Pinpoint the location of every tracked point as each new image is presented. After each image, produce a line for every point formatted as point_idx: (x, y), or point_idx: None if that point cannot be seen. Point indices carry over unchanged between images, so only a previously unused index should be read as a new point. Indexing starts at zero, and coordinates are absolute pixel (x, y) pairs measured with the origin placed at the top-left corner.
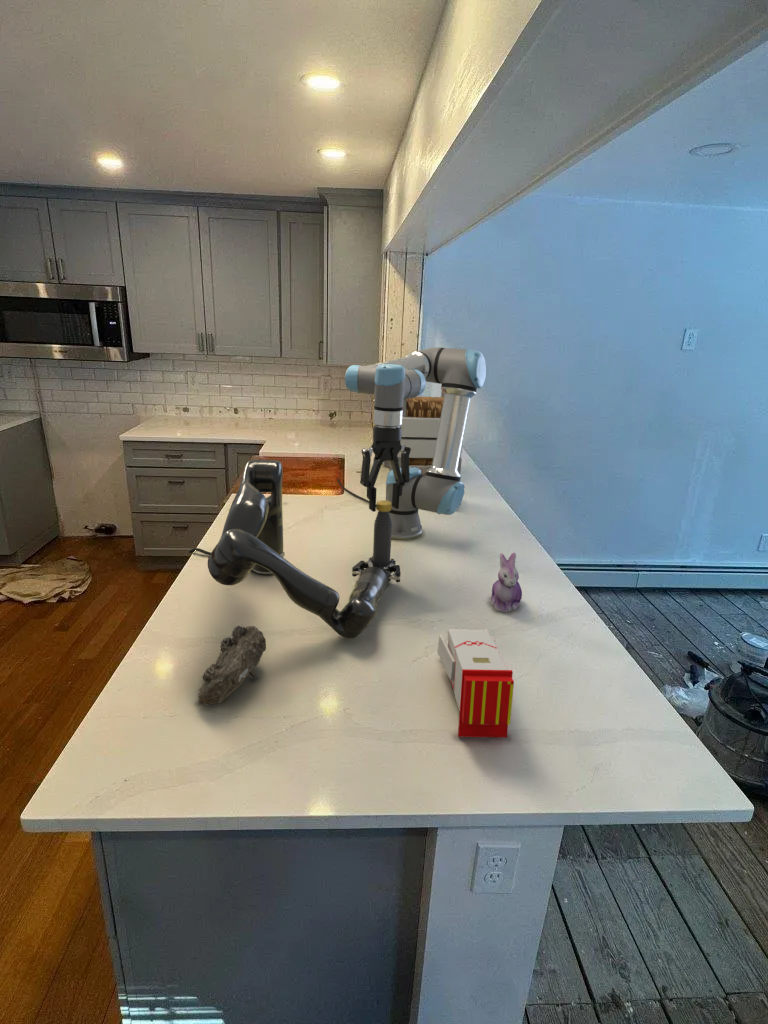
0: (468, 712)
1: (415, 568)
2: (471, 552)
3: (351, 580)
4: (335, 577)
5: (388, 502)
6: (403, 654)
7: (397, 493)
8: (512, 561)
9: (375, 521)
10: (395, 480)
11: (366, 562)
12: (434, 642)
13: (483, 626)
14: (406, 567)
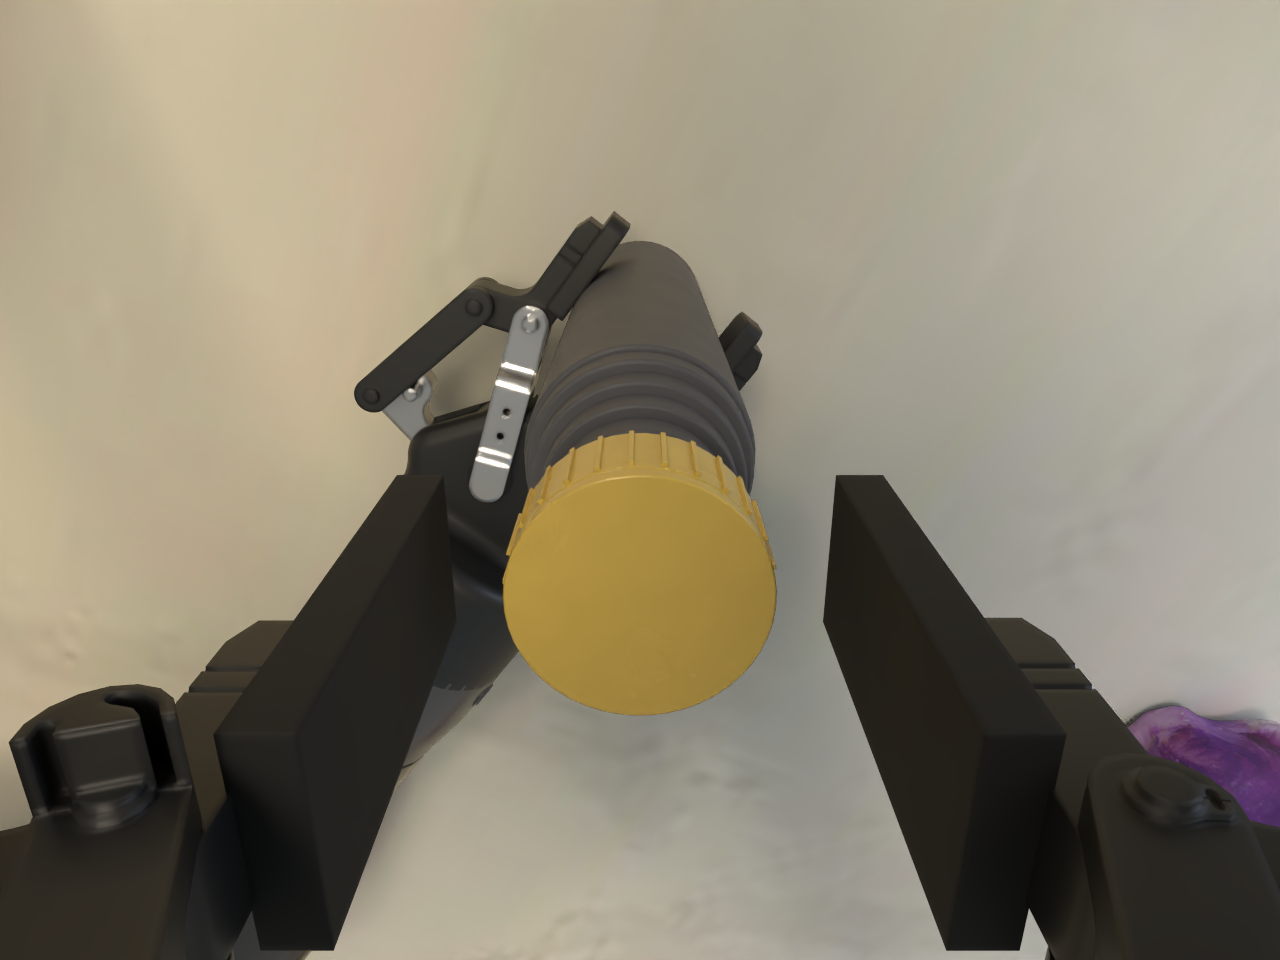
0: None
1: (1008, 174)
2: None
3: (456, 186)
4: (352, 88)
5: (723, 612)
6: (449, 924)
7: (901, 811)
8: None
9: (530, 455)
10: (1093, 829)
11: (514, 306)
12: (616, 902)
13: (900, 880)
14: (955, 129)
